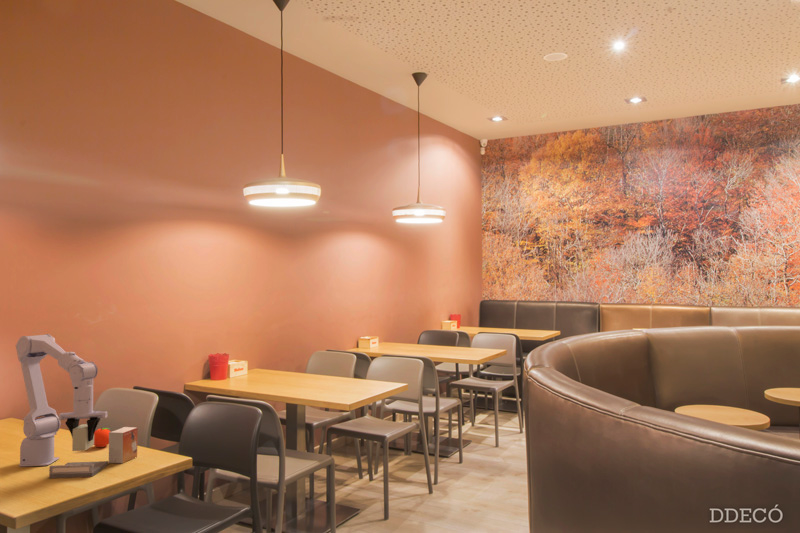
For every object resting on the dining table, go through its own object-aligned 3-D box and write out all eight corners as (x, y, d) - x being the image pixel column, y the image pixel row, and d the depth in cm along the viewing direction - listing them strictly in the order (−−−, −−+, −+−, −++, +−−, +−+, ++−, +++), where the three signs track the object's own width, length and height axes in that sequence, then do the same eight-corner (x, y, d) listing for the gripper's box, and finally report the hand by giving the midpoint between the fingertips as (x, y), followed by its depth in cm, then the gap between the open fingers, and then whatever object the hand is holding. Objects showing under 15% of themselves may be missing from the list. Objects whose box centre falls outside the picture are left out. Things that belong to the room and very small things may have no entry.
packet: (72, 451, 182) (72, 429, 182) (81, 445, 188) (81, 424, 189) (85, 450, 182) (85, 428, 182) (94, 444, 189) (94, 423, 189)
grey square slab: (48, 478, 176) (49, 466, 176) (68, 466, 188) (68, 455, 188) (92, 476, 177) (92, 465, 178) (108, 464, 190) (108, 453, 190)
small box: (122, 464, 190) (122, 432, 191) (108, 463, 191) (108, 432, 192) (137, 456, 198) (138, 427, 199) (124, 456, 199) (124, 426, 200)
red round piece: (111, 442, 217) (111, 424, 217) (117, 446, 212) (117, 427, 212) (88, 446, 211) (89, 428, 211) (94, 450, 206) (94, 431, 206)
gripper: (111, 396, 191) (110, 436, 190) (65, 397, 189) (65, 438, 188) (103, 400, 184) (102, 442, 183) (55, 402, 182) (55, 444, 181)
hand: (83, 440), depth 185 cm, fingers closed on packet, 4 cm apart
